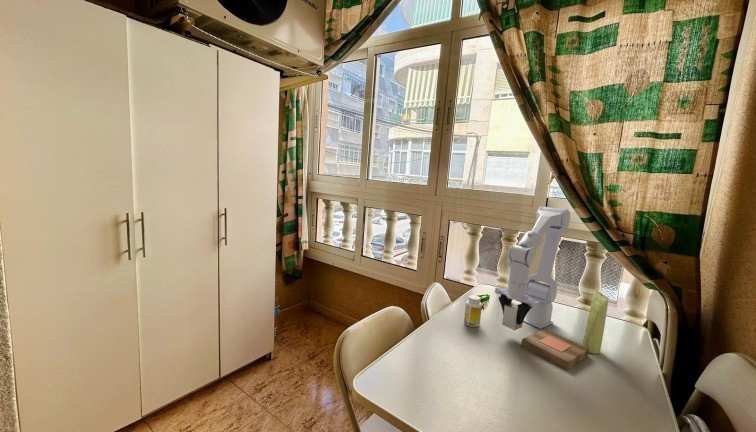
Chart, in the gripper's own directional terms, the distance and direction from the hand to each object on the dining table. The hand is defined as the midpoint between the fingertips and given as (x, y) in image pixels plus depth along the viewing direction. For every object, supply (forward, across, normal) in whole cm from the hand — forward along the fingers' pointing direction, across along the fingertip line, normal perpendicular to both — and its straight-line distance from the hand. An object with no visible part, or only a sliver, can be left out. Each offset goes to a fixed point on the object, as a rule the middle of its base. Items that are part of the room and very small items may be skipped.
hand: (512, 320), depth 105 cm
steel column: (+2, 0, 0) cm, 2 cm away
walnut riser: (+6, +12, +5) cm, 14 cm away
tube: (+6, +18, +17) cm, 26 cm away
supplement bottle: (+6, -13, -4) cm, 15 cm away
